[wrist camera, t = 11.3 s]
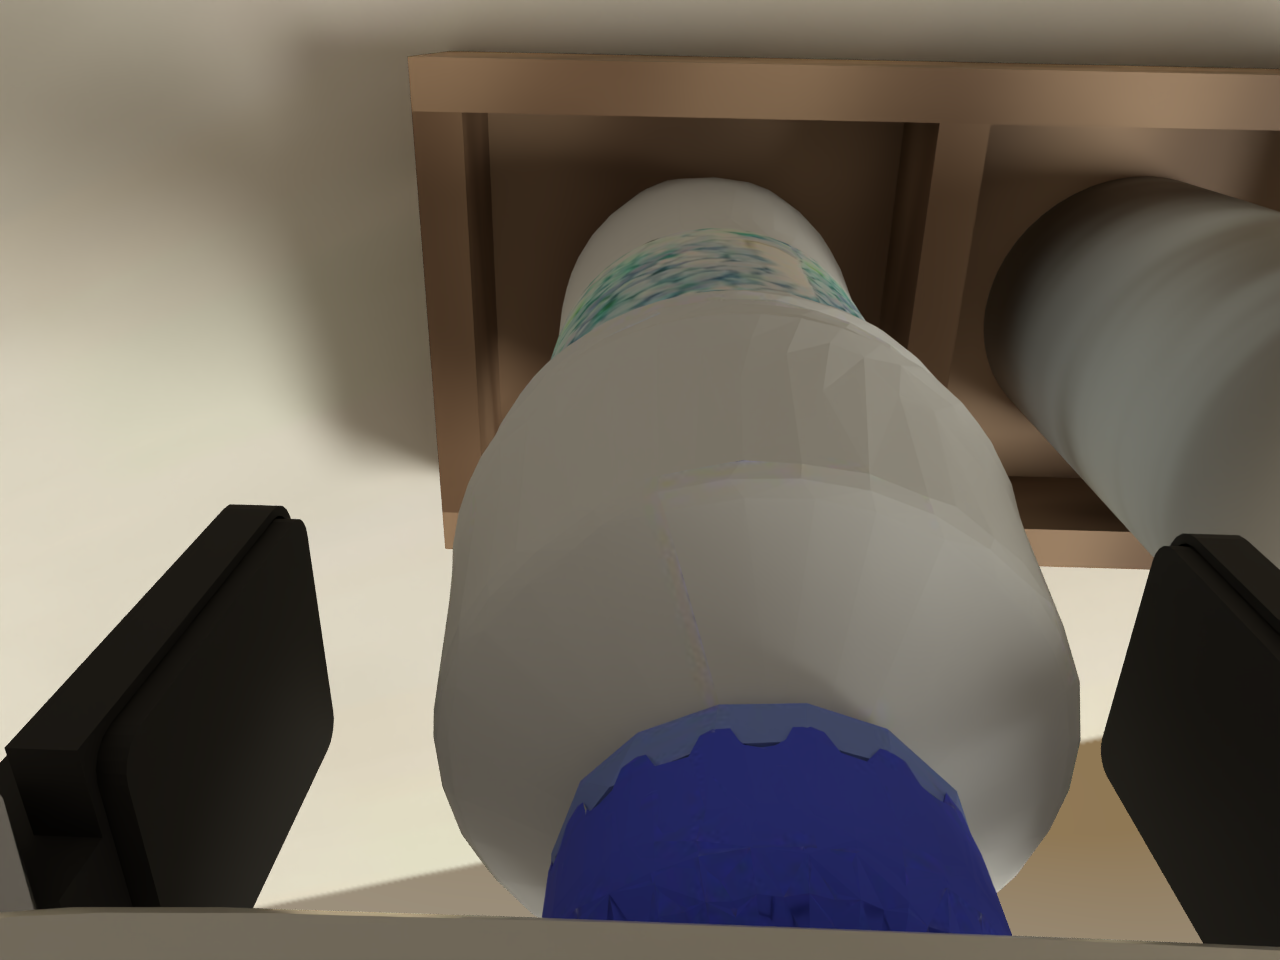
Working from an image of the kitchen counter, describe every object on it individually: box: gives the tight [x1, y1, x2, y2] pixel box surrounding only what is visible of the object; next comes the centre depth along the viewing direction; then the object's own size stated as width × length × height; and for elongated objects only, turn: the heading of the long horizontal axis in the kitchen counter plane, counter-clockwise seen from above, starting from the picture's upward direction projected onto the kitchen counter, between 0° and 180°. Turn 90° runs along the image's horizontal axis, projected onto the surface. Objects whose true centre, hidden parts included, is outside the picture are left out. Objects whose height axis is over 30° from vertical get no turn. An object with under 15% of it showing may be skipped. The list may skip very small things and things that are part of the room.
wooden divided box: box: [408, 51, 1280, 569], centre depth 20 cm, size 22×11×11 cm, turn 89°
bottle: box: [434, 177, 1080, 936], centre depth 15 cm, size 7×7×20 cm
